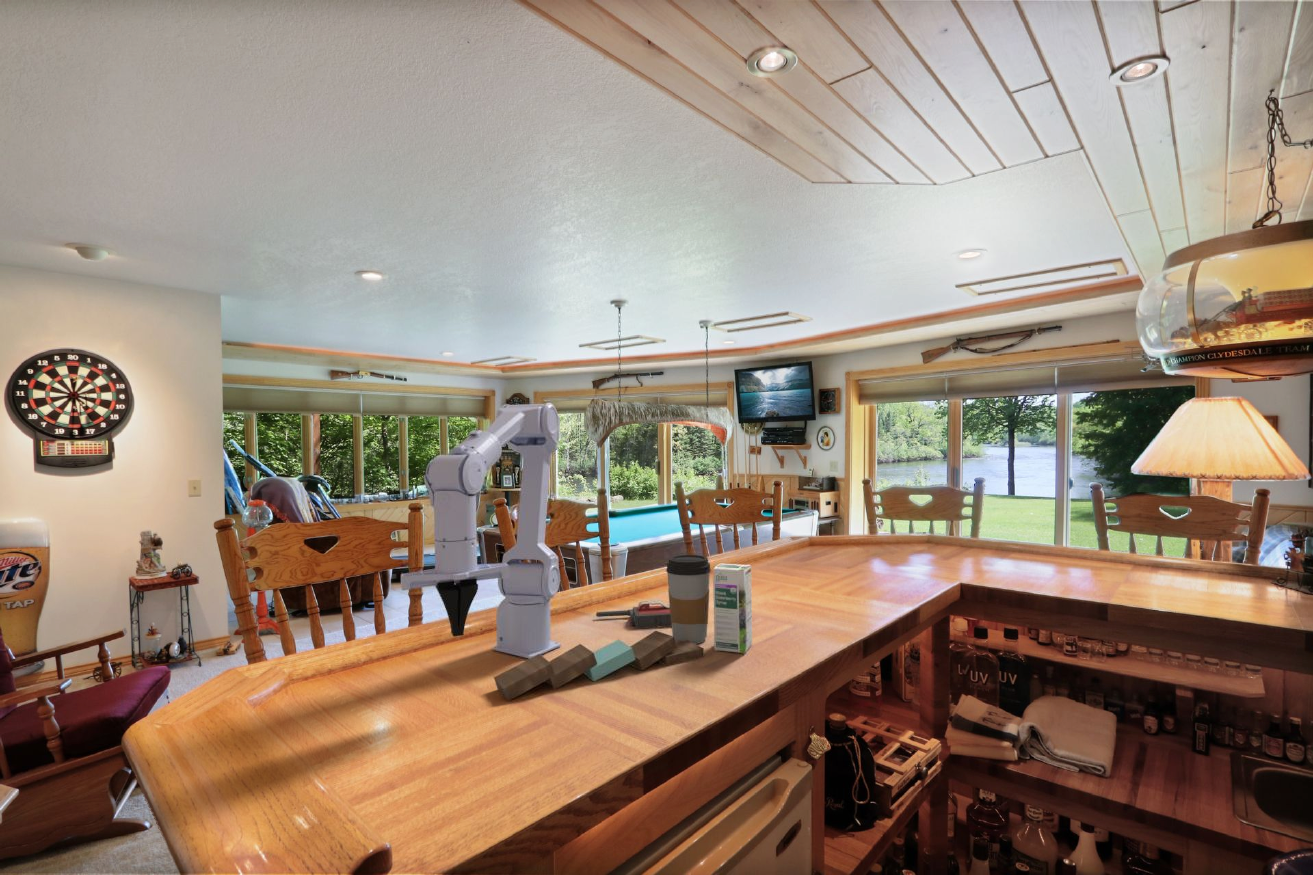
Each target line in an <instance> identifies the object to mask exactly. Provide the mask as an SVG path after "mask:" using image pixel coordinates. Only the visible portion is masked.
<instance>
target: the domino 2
mask: <svg viewBox="0 0 1313 875" xmlns="http://www.w3.org/2000/svg"><path fill="white" fill-rule="evenodd" d="M593 652H594V651H592V650H590V649H589V648H587V647H586V646H584V645H582V643H579V644H577V645H576V646H574V647H572V648H570V649H568V650H567V651H564V653H561V654H560V655H558V656H557V657H554V658H553V659H551V660H550V661H549V660H548V661H549V662H550V663H551V665H552V668H553V671H554V674H555V676H553V677H551V678H549V679H548V680H546V681H544V682H545V683H546V684H548V686H550V687H551V688H552V689H553V690H555V691H556V689H558V688H561V687H562V686H563V685H565V684H566V683H568V682H571V681H572V680H573V679H575V678H577V677H578V676H580V675H582V674H584V673H583V672H585V671H587V670H588V669H590V668H592V667H593V666H595V665H597V661H596V659H595V656H594V653H593Z"/></svg>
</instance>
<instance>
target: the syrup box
mask: <svg viewBox="0 0 1313 875" xmlns="http://www.w3.org/2000/svg"><path fill="white" fill-rule="evenodd" d="M712 584H713V585H712V586H713V587H712V588H713V593H712V594H713V618H714V619H713V623H714V624H713V626H714V628H713V629H714V634H713V636H714V637H713V640H714V641H713V642H714V643H713V646H714V648H713V649H714V651H716V652H721V651H722V652H728V653H729V652H730V653H736V654H742V655H743V654H744V655H745V654H746V653H747V652H748V651H749V649H750V648H751V646H752V644H753V610H752V609H753V606H752V604H753V602H752V565H751V564H733V563H719V564H716V565H715V567H714V568H713V569H712Z"/></svg>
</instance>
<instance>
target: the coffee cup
mask: <svg viewBox="0 0 1313 875" xmlns="http://www.w3.org/2000/svg"><path fill="white" fill-rule="evenodd" d="M665 571H666V574H667V583H668V589H667V591H668V602H669V604H668V605H670V616H671V623H672V626H671V633H672V635H671V636H673V637H674V639H675V642H676V643H677V642H682V641H686V640H688V641H690V642H692V643H694V644H696V645H698V644H701V643H703V642H705V641H706V638H707V637H708V624H709V610H710V609H709V607H710V605H709V603H710V577H711V576H710V574H711V571H712V570H711V563H710V562H709V558H708V557H707V556H705V555H700V554H699V555H698V554H679V555H673V556H670V557H669V558H668V562H667V564H666V570H665Z"/></svg>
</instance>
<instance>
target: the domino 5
mask: <svg viewBox="0 0 1313 875" xmlns="http://www.w3.org/2000/svg"><path fill="white" fill-rule="evenodd" d="M676 646H677V648H676V649H674V650H673V651H671V652H670V653H668V654H666V655H665V656H663V657H662V658H660V659H659V660H657V661H656V662H660V663H661V664H662V665H664V666H670V665H676V664H678V663H684V662H687V661H692V660H695V659H700V658H704V655H705V654H704V647H702V646H700V645H698V644H694V643H692V642H690V641H688V640H686V641H682V642H676Z"/></svg>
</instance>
